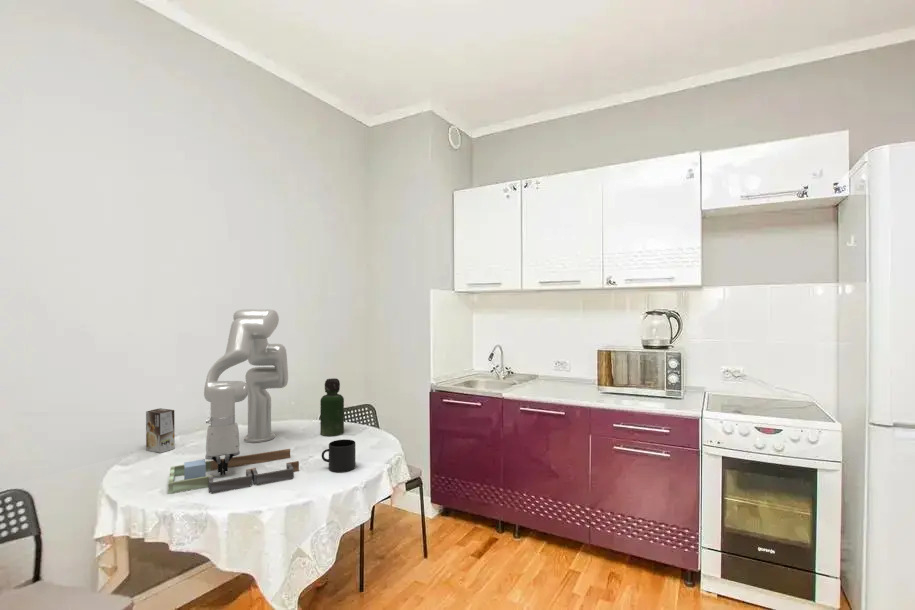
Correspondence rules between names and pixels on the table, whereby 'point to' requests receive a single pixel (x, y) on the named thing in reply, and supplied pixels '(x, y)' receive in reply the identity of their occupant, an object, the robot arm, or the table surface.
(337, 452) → the mug
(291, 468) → the trap box
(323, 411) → the green bottle
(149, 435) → the coffee box
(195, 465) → the block
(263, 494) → the table surface
